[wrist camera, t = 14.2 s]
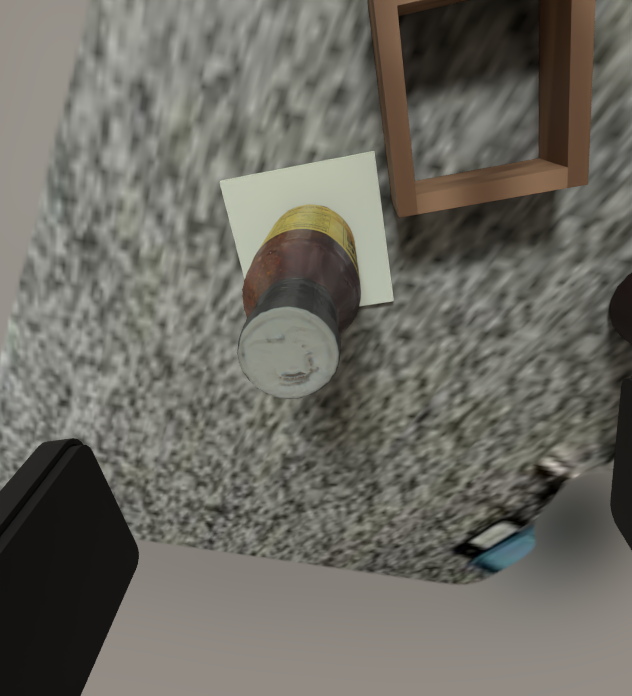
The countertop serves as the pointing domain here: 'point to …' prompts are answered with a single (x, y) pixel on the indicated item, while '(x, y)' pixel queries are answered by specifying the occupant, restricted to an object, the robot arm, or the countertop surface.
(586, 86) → the frame
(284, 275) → the sauce bottle
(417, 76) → the countertop surface
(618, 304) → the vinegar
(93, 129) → the countertop surface
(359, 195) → the sage mat
